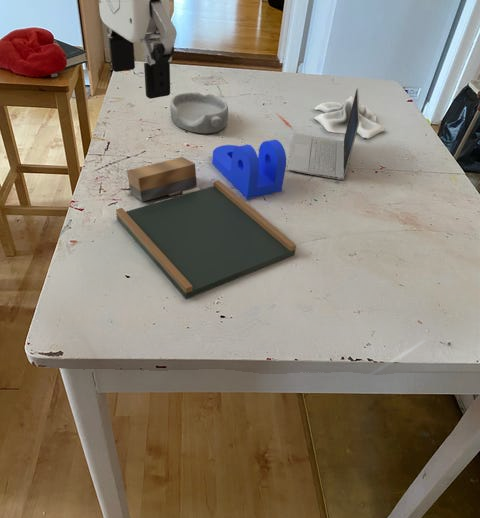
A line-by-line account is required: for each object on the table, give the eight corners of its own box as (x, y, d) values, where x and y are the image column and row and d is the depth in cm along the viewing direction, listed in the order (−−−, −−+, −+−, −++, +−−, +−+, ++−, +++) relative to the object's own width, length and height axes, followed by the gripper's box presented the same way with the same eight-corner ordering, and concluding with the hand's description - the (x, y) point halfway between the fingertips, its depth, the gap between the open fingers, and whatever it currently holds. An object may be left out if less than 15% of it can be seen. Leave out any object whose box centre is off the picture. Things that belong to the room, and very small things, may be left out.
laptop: (293, 136, 115) (302, 79, 105) (344, 144, 114) (358, 87, 105) (286, 172, 102) (297, 111, 93) (344, 181, 102) (360, 121, 92)
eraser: (142, 201, 88) (138, 178, 85) (130, 193, 91) (126, 170, 89) (196, 186, 93) (195, 163, 91) (184, 178, 97) (182, 156, 94)
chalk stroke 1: (156, 207, 89) (156, 205, 88) (154, 205, 89) (153, 202, 89) (177, 202, 91) (177, 199, 90) (174, 199, 91) (174, 197, 91)
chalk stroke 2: (166, 190, 92) (166, 193, 92) (169, 193, 91) (169, 195, 92) (189, 184, 94) (189, 187, 95) (191, 187, 94) (191, 189, 94)
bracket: (281, 190, 97) (288, 149, 90) (247, 199, 93) (251, 156, 87) (238, 151, 107) (241, 111, 100) (205, 157, 104) (207, 116, 97)
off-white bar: (181, 190, 93) (181, 193, 93) (183, 193, 92) (183, 195, 92) (198, 187, 94) (198, 189, 94) (200, 189, 93) (200, 192, 94)
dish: (226, 138, 111) (227, 117, 107) (167, 133, 110) (166, 111, 107) (228, 112, 121) (229, 92, 117) (174, 107, 120) (173, 87, 117)
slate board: (185, 299, 72) (185, 288, 71) (116, 219, 85) (115, 209, 83) (294, 254, 82) (296, 244, 81) (218, 189, 95) (218, 179, 93)
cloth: (386, 143, 116) (394, 118, 112) (312, 132, 117) (316, 107, 113) (381, 108, 132) (387, 84, 127) (315, 98, 132) (319, 75, 128)
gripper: (63, -101, 53) (86, 64, 65) (134, -73, 44) (145, 113, 56) (125, -99, 56) (135, 57, 69) (203, -72, 47) (199, 102, 59)
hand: (140, 82), depth 62 cm, fingers open, 9 cm apart
